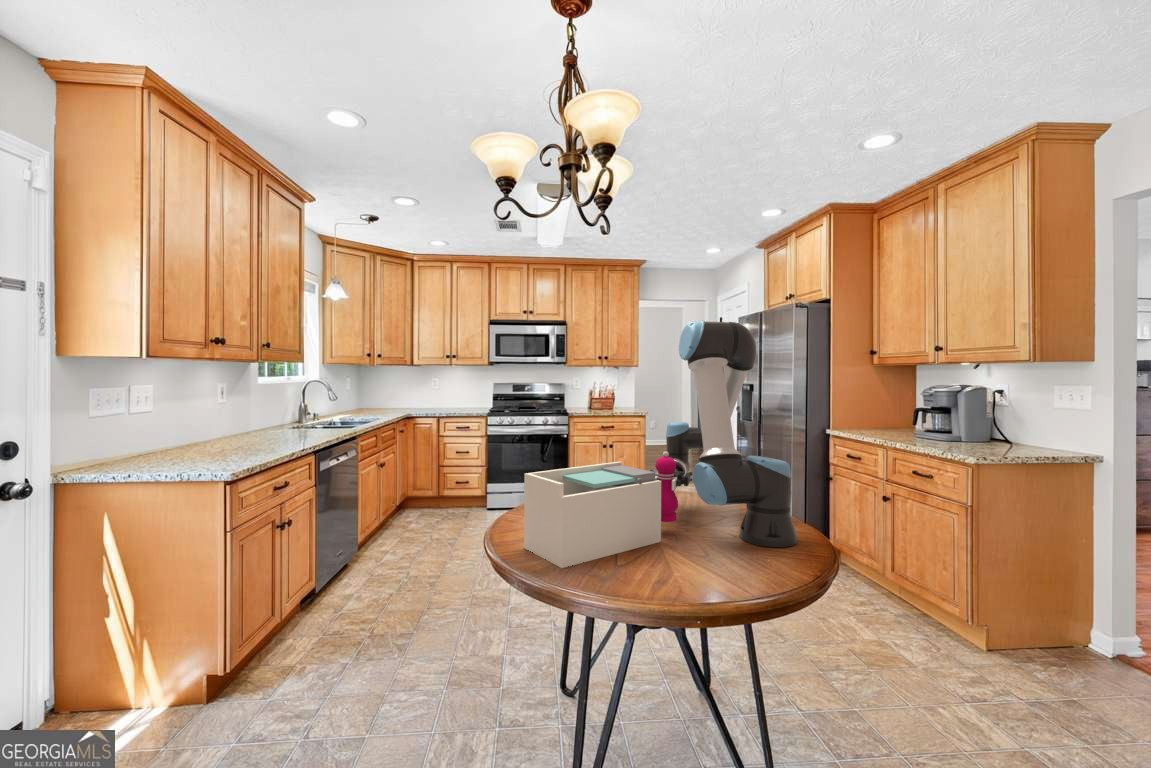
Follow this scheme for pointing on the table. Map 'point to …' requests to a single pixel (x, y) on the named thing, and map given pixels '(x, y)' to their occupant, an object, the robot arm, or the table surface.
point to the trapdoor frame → (587, 516)
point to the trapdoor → (611, 477)
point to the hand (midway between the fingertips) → (663, 485)
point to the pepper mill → (667, 487)
